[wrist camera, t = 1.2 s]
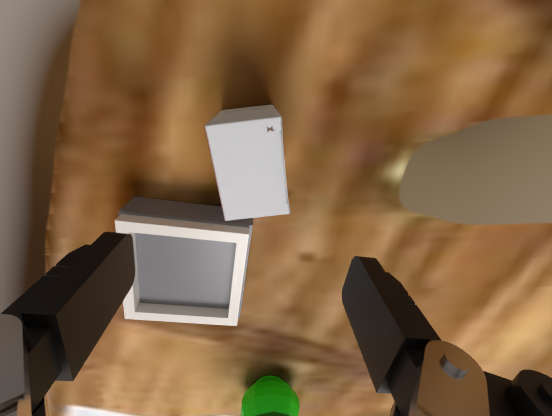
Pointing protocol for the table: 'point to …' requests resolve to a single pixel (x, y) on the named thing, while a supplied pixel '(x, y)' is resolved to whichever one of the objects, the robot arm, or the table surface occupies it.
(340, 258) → the table surface
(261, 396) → the plastic bottle
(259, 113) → the small box
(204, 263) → the grey square tray
